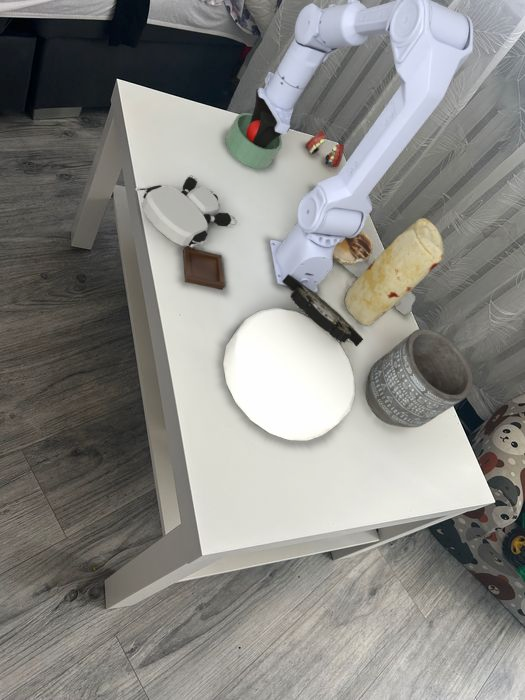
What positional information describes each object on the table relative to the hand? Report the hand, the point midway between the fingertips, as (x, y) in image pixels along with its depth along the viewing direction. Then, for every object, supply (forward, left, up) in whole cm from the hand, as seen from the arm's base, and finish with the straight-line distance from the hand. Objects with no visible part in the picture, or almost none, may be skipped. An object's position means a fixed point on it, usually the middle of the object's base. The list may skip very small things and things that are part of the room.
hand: (255, 137), depth 113 cm
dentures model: (+7, -14, -1) cm, 15 cm away
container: (-51, +1, -3) cm, 51 cm away
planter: (-52, -18, -3) cm, 55 cm away
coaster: (-33, +12, -3) cm, 35 cm away
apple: (0, 0, -1) cm, 1 cm away
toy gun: (-13, -26, -2) cm, 29 cm away
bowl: (0, 0, -3) cm, 3 cm away
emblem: (-35, -10, -2) cm, 37 cm away
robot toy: (-23, +15, -3) cm, 28 cm away
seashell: (-25, -13, +4) cm, 28 cm away
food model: (-33, -17, -3) cm, 38 cm away
